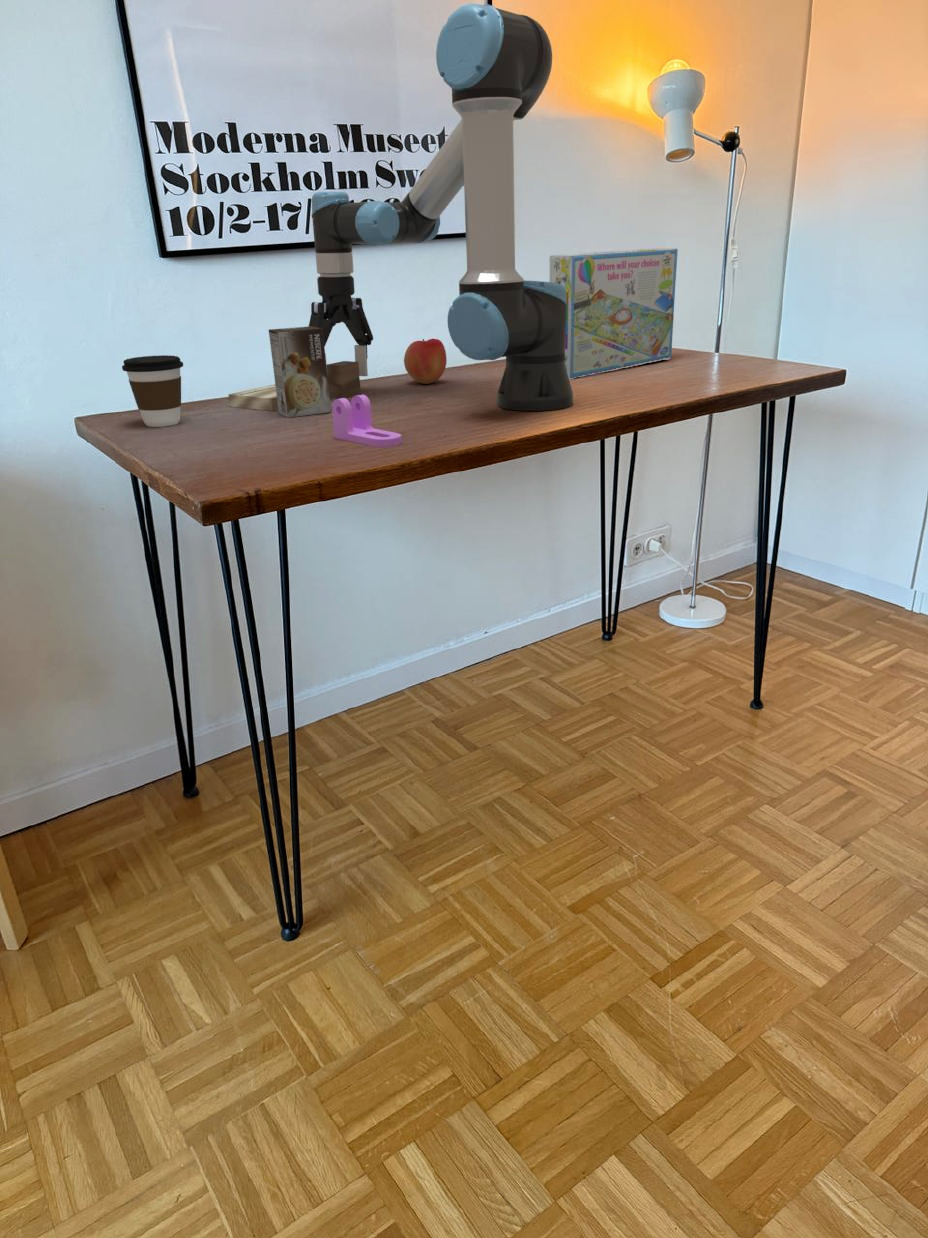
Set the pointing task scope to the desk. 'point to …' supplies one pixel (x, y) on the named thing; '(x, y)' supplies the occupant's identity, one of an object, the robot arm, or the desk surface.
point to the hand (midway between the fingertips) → (342, 380)
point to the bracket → (359, 423)
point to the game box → (616, 307)
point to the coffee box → (300, 371)
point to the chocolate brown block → (343, 379)
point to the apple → (425, 360)
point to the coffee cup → (156, 388)
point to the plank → (256, 399)
